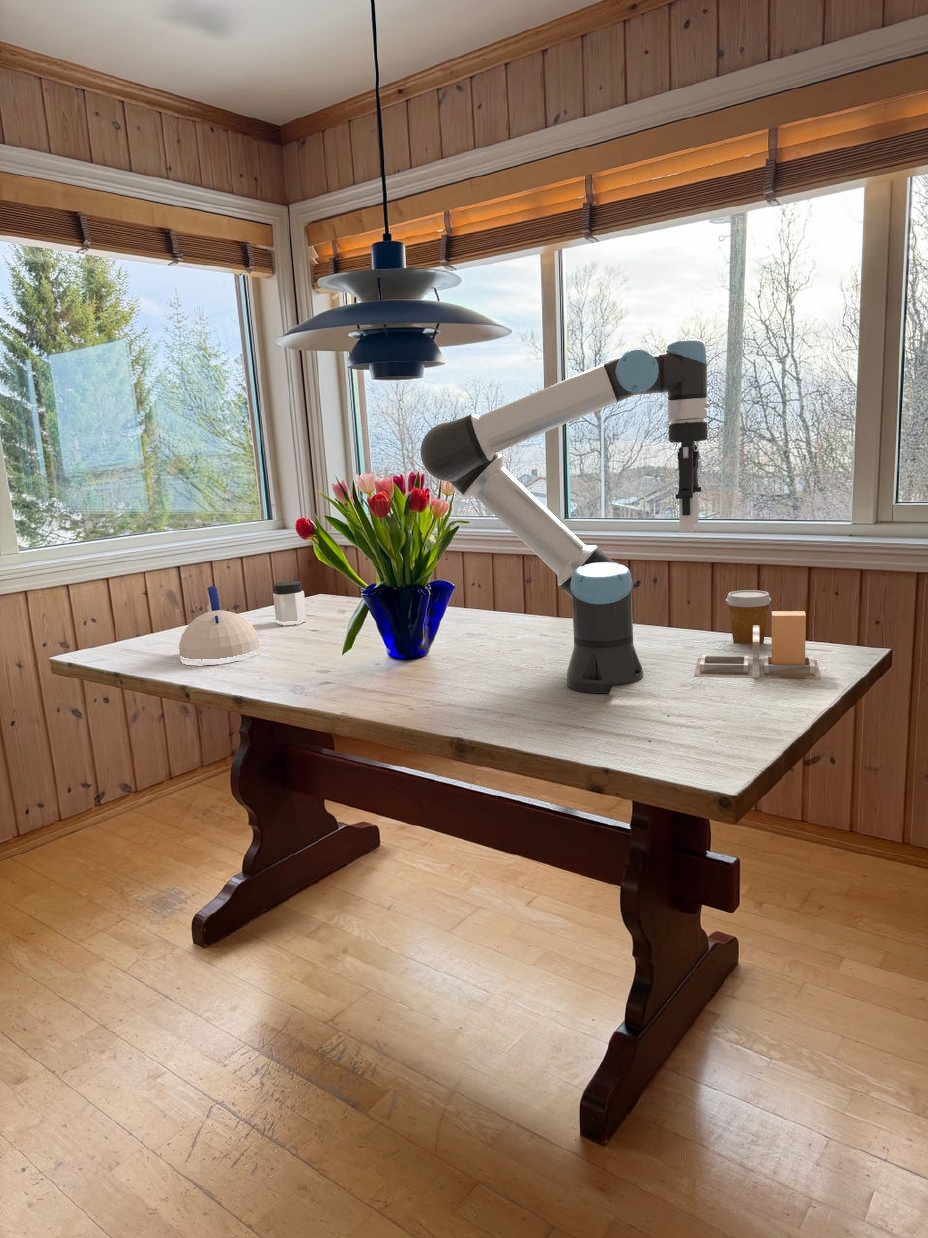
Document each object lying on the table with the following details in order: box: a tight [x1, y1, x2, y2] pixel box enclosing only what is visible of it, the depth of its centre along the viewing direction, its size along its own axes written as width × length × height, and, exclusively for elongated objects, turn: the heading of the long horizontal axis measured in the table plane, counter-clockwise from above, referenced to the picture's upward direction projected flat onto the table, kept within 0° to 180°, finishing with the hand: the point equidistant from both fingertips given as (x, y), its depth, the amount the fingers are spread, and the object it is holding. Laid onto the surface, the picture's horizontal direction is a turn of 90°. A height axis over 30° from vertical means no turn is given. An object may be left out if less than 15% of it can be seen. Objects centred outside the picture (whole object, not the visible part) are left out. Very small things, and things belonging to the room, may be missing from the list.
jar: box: [272, 580, 308, 622], centre depth 254 cm, size 9×8×12 cm
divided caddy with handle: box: [693, 625, 822, 680], centre depth 171 cm, size 14×23×8 cm, turn 72°
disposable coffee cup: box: [725, 589, 772, 645], centre depth 193 cm, size 10×10×12 cm
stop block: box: [771, 610, 807, 665], centre depth 168 cm, size 4×6×11 cm, turn 72°
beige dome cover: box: [178, 585, 261, 660], centre depth 219 cm, size 20×21×18 cm
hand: (689, 527), depth 177 cm, fingers open, 13 cm apart
